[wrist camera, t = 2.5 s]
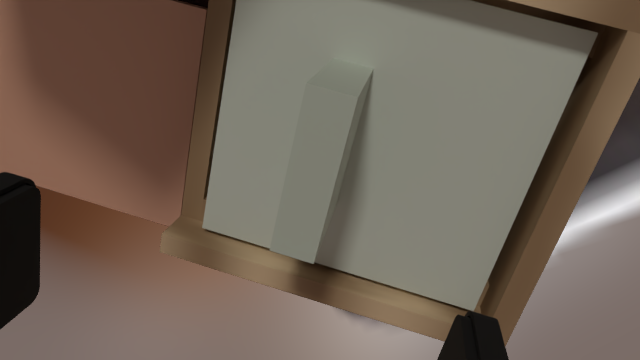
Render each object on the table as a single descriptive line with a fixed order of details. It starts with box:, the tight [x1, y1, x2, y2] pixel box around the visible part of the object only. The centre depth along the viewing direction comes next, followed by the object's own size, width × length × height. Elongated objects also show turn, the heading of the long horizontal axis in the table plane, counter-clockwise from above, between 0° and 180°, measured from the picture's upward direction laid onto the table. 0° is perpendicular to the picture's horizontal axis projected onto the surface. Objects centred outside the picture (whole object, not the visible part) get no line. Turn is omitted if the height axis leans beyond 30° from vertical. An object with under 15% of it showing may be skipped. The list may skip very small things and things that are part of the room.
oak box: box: [160, 0, 640, 346], centre depth 22 cm, size 16×15×5 cm
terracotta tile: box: [0, 0, 208, 226], centre depth 26 cm, size 12×12×1 cm
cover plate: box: [202, 0, 598, 311], centre depth 18 cm, size 13×12×6 cm
